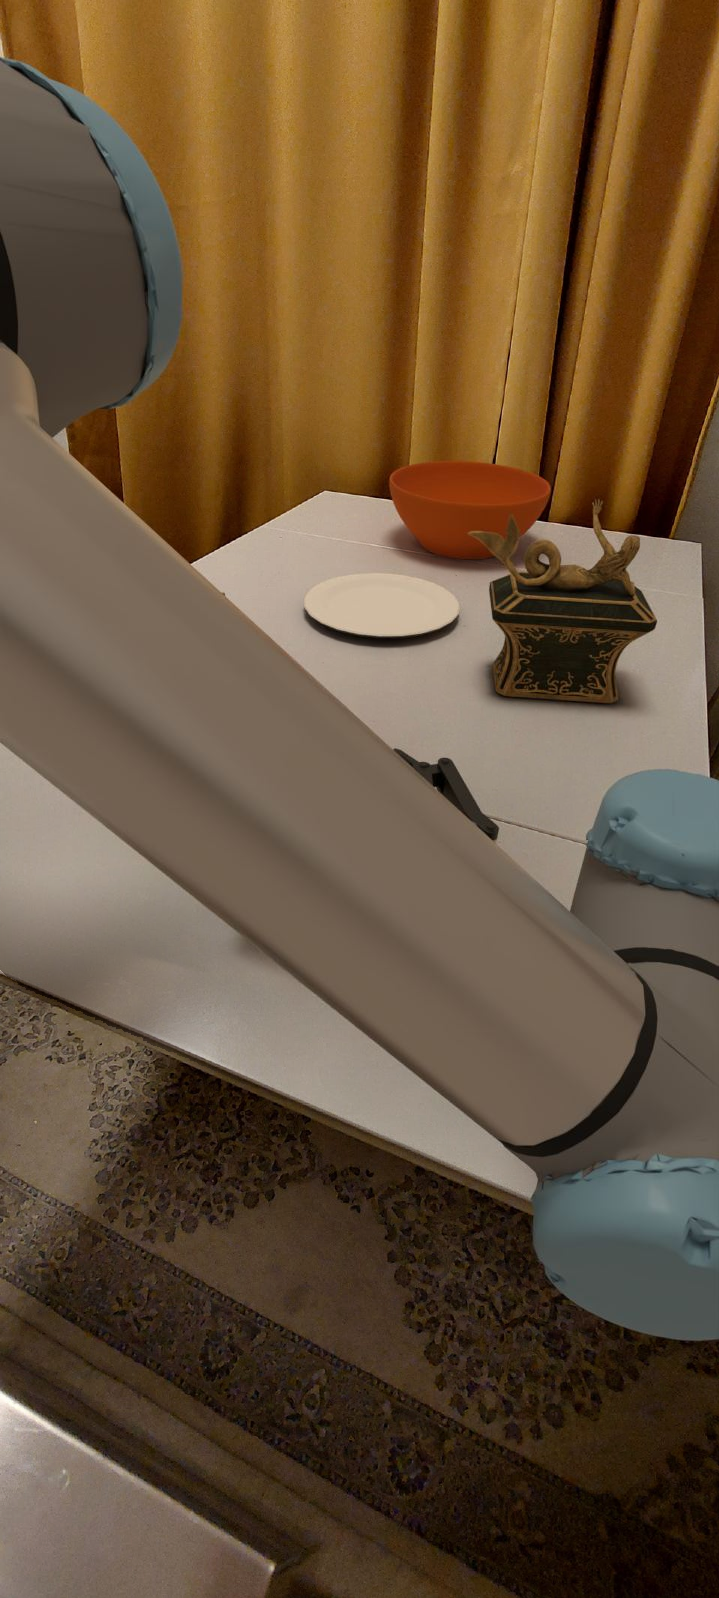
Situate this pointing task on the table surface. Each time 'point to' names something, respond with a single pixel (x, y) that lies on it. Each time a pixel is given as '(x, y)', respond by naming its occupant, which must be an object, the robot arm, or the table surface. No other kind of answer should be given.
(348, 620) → the plate
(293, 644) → the table surface
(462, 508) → the bowl
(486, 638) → the table surface
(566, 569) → the decorative box
